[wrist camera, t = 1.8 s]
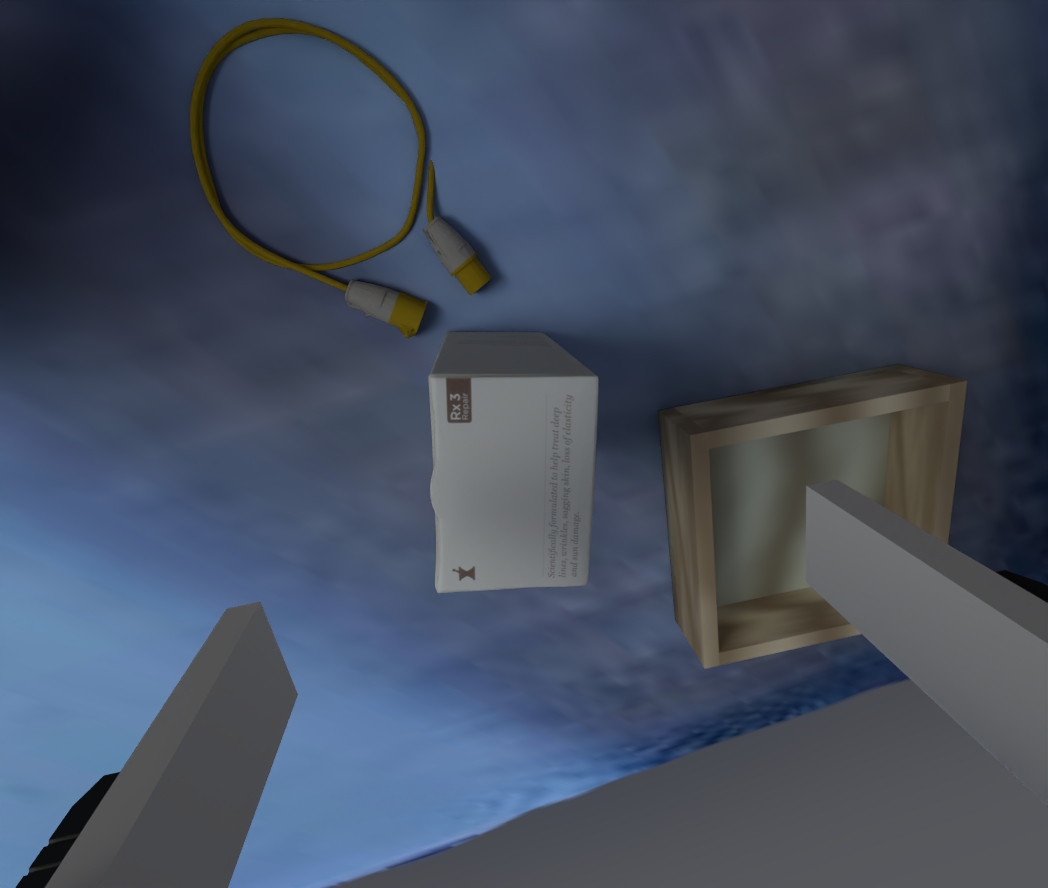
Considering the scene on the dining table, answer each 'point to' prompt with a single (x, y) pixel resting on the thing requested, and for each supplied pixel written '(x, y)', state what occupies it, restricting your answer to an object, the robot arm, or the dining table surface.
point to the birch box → (794, 496)
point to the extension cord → (360, 294)
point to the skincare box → (511, 462)
